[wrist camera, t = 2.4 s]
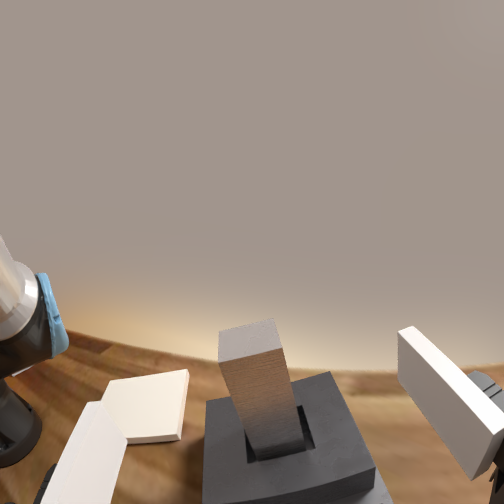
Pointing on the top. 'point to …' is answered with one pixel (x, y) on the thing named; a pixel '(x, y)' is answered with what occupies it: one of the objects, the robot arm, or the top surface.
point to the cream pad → (148, 406)
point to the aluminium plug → (261, 389)
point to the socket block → (296, 465)
